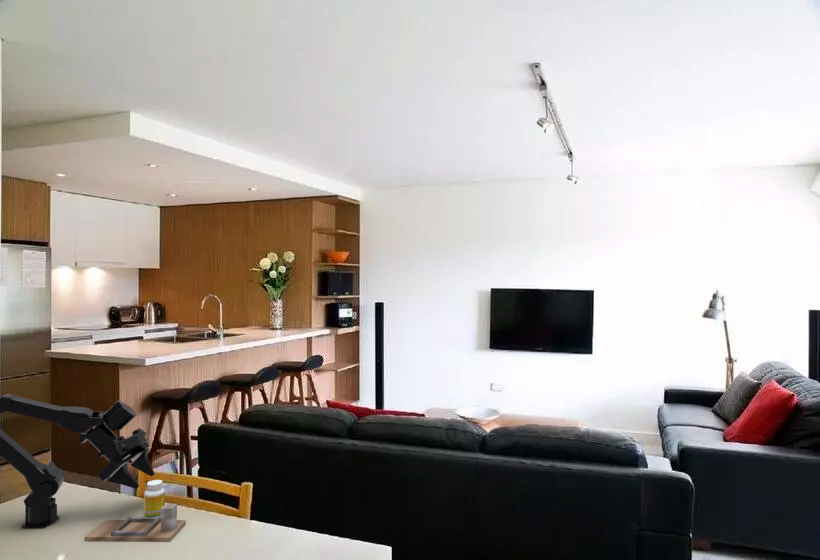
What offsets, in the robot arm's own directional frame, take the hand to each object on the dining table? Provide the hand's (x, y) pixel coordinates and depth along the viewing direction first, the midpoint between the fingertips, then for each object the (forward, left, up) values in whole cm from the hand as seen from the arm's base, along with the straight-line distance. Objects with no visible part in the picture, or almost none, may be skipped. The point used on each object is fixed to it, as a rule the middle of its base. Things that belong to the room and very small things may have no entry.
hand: (145, 481), depth 153 cm
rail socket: (+3, -10, -10) cm, 14 cm away
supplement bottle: (+3, 0, -10) cm, 10 cm away
